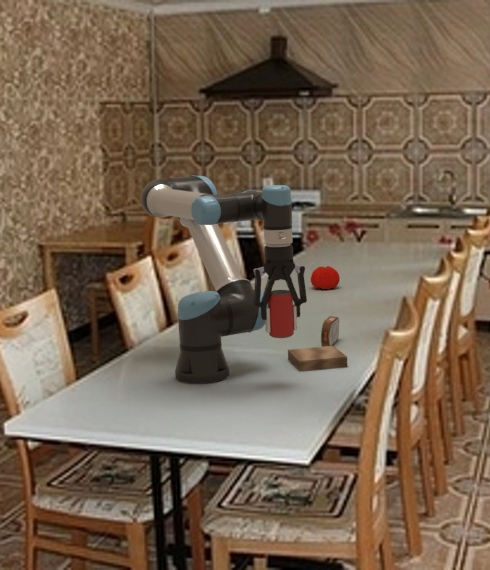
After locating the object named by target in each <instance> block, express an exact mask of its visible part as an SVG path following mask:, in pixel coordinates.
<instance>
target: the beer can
mask: <svg viewBox="0 0 490 570" xmlns="http://www.w3.org/2000/svg"><path fill="white" fill-rule="evenodd" d="M293 303H294V301H293V299H292V296H291V294H290V291H289V289H274V290H272V291H271V294H270V297H269V301H268V308H270V333H268V335H269V336H270V337H271V338H274V339H287V338H291V337H292V336H293V335H294V334H295V333H294V332H295V330H294V325H293Z"/></svg>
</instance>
